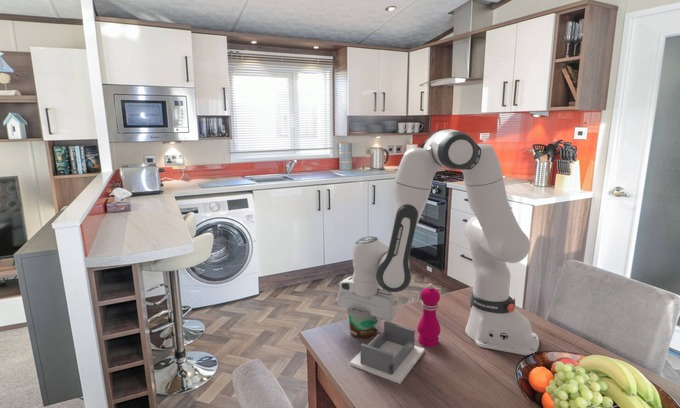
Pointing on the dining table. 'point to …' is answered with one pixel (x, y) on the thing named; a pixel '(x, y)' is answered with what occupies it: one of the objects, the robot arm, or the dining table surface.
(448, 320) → the dining table surface
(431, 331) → the pepper mill
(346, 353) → the dining table surface
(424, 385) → the dining table surface
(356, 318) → the food container
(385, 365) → the slot stand
